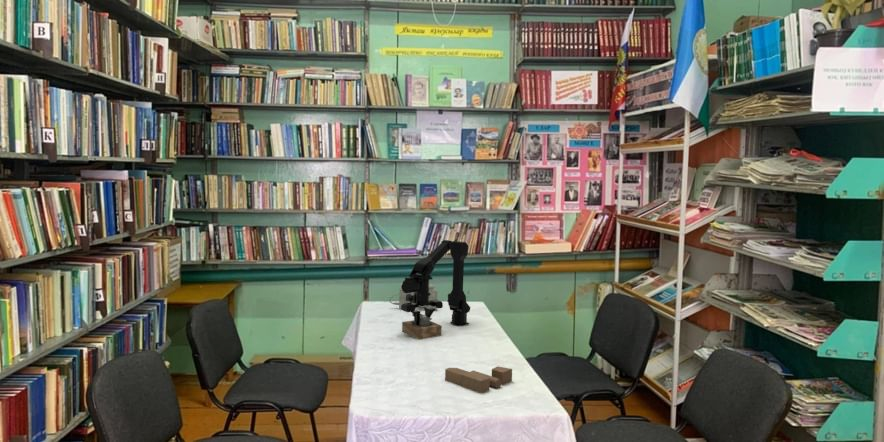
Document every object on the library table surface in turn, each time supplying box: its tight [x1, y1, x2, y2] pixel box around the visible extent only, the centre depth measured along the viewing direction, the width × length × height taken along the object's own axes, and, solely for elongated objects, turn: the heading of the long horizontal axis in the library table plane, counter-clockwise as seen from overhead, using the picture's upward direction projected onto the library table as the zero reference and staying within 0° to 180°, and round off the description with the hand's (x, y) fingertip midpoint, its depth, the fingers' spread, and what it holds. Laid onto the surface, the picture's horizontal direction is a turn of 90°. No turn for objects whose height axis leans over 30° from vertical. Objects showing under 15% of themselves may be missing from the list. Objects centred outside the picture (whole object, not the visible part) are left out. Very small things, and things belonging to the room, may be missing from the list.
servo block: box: [412, 313, 433, 327], centre depth 271 cm, size 4×10×6 cm, turn 34°
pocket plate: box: [401, 319, 443, 340], centre depth 271 cm, size 12×14×4 cm
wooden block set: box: [444, 365, 513, 394], centre depth 213 cm, size 17×6×18 cm
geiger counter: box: [389, 282, 438, 312], centre depth 316 cm, size 14×6×25 cm
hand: (421, 324), depth 271 cm, fingers closed on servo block, 4 cm apart
